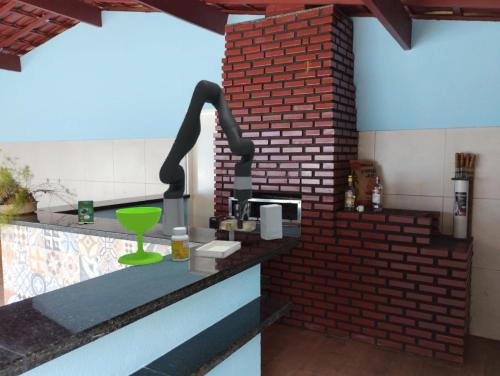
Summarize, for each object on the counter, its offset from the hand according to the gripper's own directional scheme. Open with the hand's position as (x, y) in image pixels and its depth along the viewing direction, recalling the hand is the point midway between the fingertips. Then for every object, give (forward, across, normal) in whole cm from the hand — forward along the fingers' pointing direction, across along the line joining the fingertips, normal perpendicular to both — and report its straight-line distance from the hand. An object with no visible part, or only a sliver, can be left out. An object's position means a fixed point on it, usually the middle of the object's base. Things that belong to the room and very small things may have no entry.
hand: (242, 227), depth 175 cm
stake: (+7, 0, -5) cm, 9 cm away
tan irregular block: (+1, 0, -2) cm, 2 cm away
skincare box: (+7, -15, +8) cm, 19 cm away
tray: (+7, +16, -4) cm, 18 cm away
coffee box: (+9, -27, -103) cm, 107 cm away
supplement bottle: (+7, +30, -13) cm, 34 cm away
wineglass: (+8, +34, -27) cm, 44 cm away
